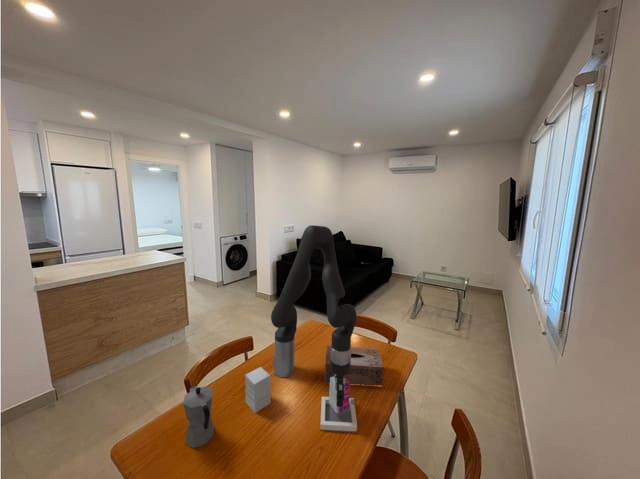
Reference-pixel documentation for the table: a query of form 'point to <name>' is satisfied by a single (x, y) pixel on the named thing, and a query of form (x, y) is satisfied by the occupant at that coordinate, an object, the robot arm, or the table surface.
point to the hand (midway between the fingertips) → (339, 397)
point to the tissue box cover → (360, 366)
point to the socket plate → (338, 417)
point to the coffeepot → (198, 416)
